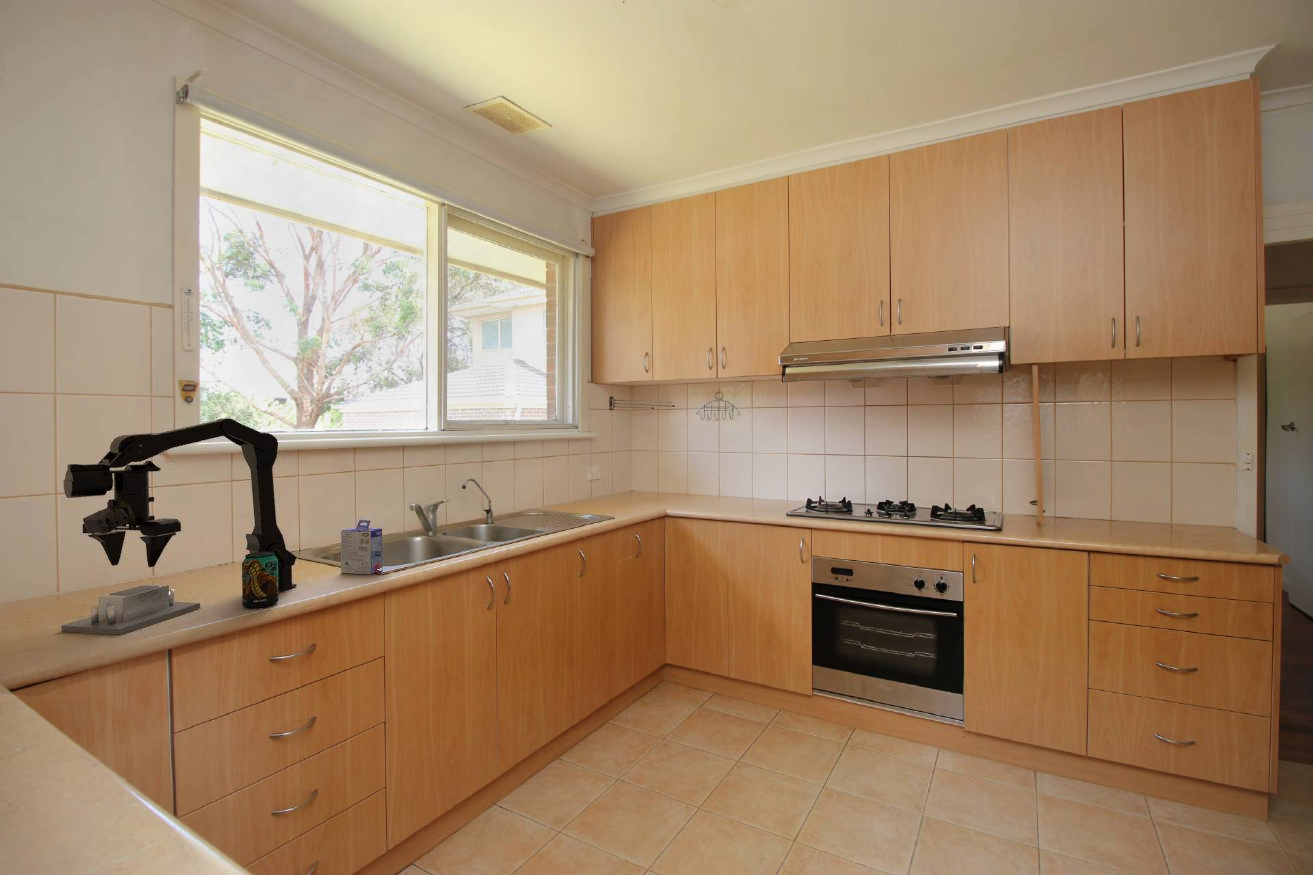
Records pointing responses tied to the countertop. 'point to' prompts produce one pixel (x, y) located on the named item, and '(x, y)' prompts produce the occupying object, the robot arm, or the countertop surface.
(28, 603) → the countertop surface
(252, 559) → the beverage can
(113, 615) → the pin tray
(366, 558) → the ink cartridge box
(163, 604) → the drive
